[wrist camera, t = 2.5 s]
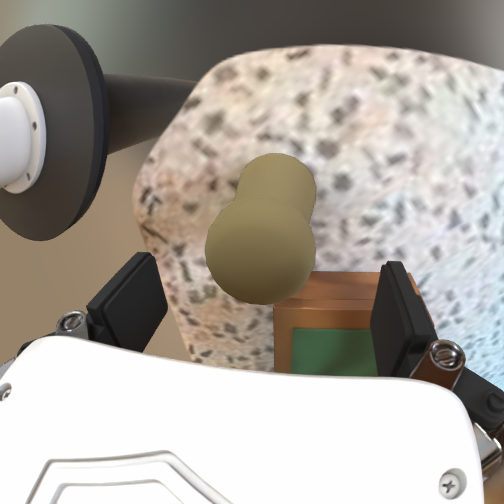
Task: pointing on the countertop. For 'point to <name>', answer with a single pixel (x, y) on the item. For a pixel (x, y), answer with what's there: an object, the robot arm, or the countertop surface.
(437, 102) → the countertop surface
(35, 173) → the robot arm
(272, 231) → the cork
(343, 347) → the wooden shelf
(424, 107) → the countertop surface
